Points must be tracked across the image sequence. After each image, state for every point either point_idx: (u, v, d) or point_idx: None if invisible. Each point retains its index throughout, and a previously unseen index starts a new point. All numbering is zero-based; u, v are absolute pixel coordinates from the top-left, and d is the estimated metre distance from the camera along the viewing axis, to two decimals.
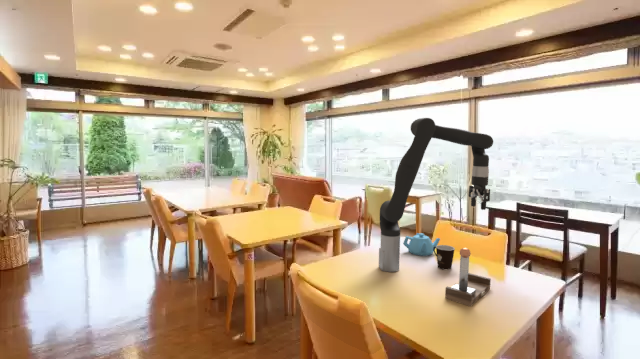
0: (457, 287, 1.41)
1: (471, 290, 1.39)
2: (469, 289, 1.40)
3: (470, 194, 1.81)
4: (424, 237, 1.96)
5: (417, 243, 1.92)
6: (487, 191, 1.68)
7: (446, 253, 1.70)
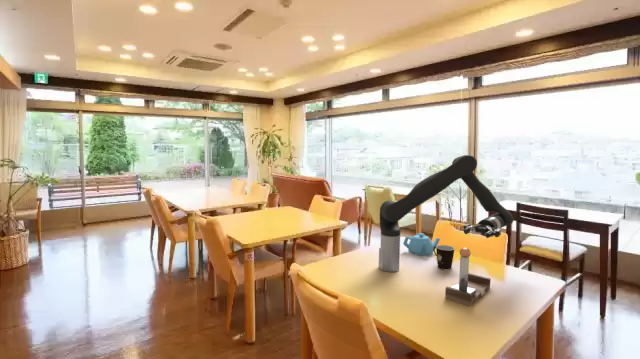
0: (457, 287, 1.41)
1: (471, 290, 1.39)
2: (469, 289, 1.40)
3: (466, 226, 1.54)
4: (424, 237, 1.96)
5: (417, 243, 1.92)
6: (500, 231, 1.48)
7: (446, 253, 1.70)
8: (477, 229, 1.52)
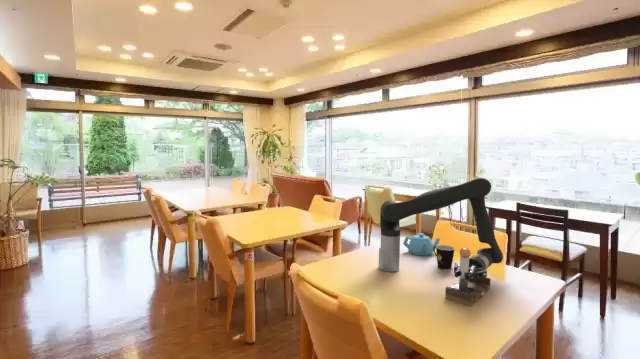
0: (457, 287, 1.41)
1: (471, 290, 1.39)
2: (469, 289, 1.40)
3: (457, 267, 1.45)
4: (424, 237, 1.96)
5: (417, 243, 1.92)
6: (485, 274, 1.40)
7: (446, 253, 1.70)
8: None
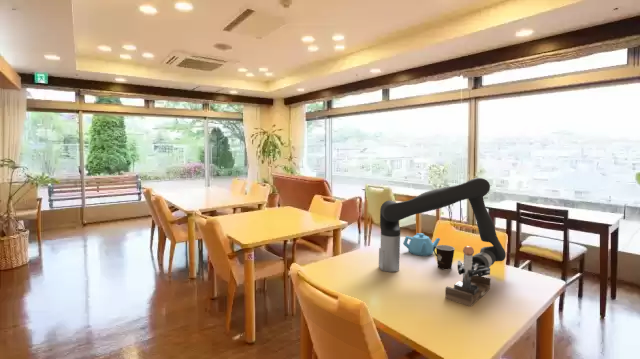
0: (461, 284, 1.44)
1: (474, 287, 1.41)
2: (472, 286, 1.42)
3: (460, 265, 1.47)
4: (424, 237, 1.96)
5: (417, 243, 1.92)
6: (488, 271, 1.42)
7: (446, 253, 1.70)
8: None
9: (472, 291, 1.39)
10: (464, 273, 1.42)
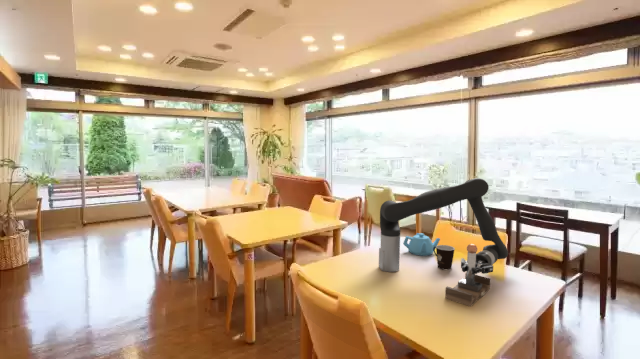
0: (464, 282, 1.47)
1: (478, 284, 1.44)
2: (476, 283, 1.45)
3: (464, 262, 1.50)
4: (424, 237, 1.96)
5: (417, 243, 1.92)
6: (491, 269, 1.45)
7: (446, 253, 1.70)
8: None
9: (476, 288, 1.42)
10: (468, 270, 1.45)
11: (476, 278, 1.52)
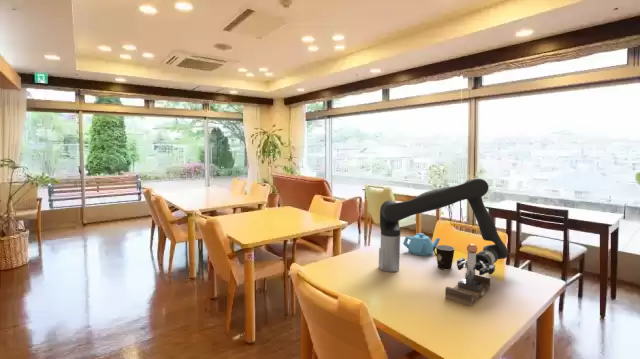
0: (464, 282, 1.47)
1: (478, 284, 1.44)
2: (475, 283, 1.45)
3: (460, 261, 1.52)
4: (424, 237, 1.96)
5: (417, 243, 1.92)
6: (494, 268, 1.46)
7: (446, 253, 1.70)
8: None
9: (476, 288, 1.42)
10: (468, 270, 1.45)
11: (476, 278, 1.52)
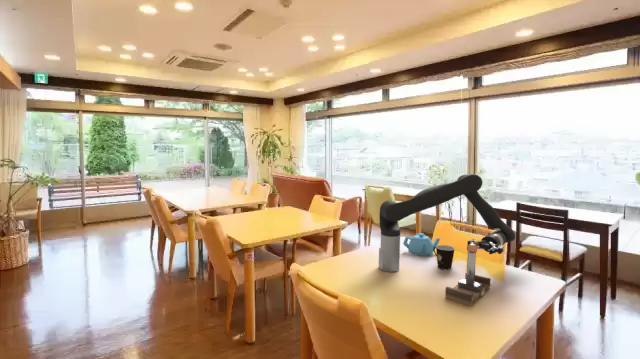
0: (464, 282, 1.47)
1: (478, 284, 1.44)
2: (475, 283, 1.45)
3: (470, 242, 1.60)
4: (424, 237, 1.96)
5: (417, 243, 1.92)
6: (503, 248, 1.54)
7: (446, 253, 1.70)
8: (481, 245, 1.57)
9: (476, 288, 1.42)
10: (468, 270, 1.45)
11: (476, 278, 1.52)
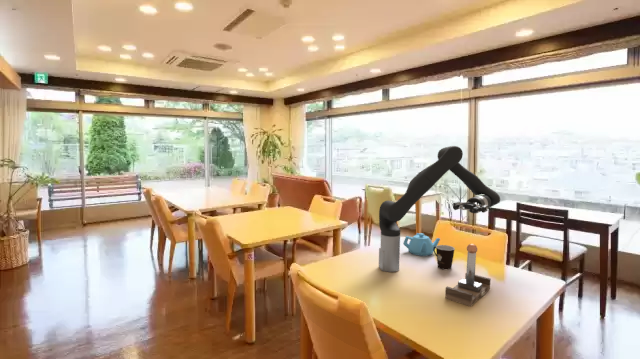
0: (464, 282, 1.47)
1: (478, 284, 1.44)
2: (475, 283, 1.45)
3: (456, 203, 1.66)
4: (424, 237, 1.96)
5: (417, 243, 1.92)
6: (487, 208, 1.60)
7: (446, 253, 1.70)
8: (465, 206, 1.64)
9: (476, 288, 1.42)
10: (468, 270, 1.45)
11: (476, 278, 1.52)
